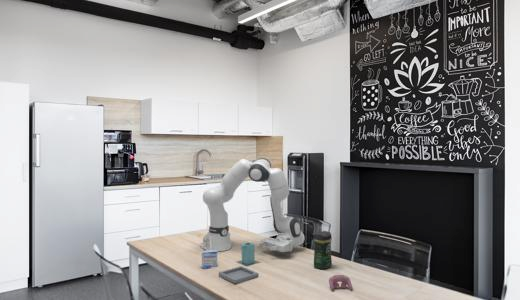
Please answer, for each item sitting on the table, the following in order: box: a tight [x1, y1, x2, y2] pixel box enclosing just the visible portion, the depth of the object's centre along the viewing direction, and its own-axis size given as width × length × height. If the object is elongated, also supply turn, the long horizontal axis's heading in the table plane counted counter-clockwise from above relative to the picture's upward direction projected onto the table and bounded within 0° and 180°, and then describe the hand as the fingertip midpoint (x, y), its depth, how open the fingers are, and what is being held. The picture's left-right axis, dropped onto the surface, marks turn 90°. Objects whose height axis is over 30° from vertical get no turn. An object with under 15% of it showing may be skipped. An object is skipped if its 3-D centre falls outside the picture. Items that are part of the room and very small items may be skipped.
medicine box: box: [201, 250, 218, 270], centre depth 192 cm, size 8×4×9 cm, turn 105°
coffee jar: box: [313, 230, 333, 270], centre depth 189 cm, size 10×8×19 cm
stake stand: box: [236, 259, 262, 268], centre depth 197 cm, size 10×10×5 cm
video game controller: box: [328, 274, 353, 292], centre depth 161 cm, size 10×5×7 cm, turn 92°
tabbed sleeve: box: [240, 241, 256, 264], centre depth 196 cm, size 5×6×10 cm
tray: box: [218, 265, 259, 285], centre depth 177 cm, size 14×14×2 cm
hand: (264, 247), depth 204 cm, fingers open, 8 cm apart
